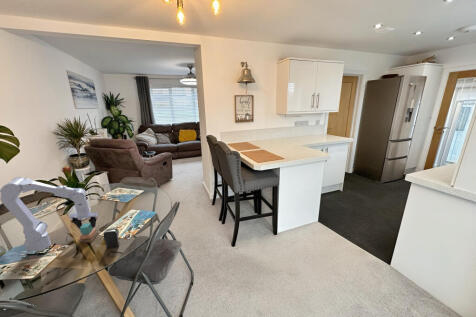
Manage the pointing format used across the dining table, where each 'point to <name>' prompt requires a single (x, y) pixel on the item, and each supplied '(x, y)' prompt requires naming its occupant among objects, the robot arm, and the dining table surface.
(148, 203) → the dining table surface
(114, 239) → the battery
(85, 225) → the teal block
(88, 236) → the tower top
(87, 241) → the tower base
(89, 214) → the robot arm
